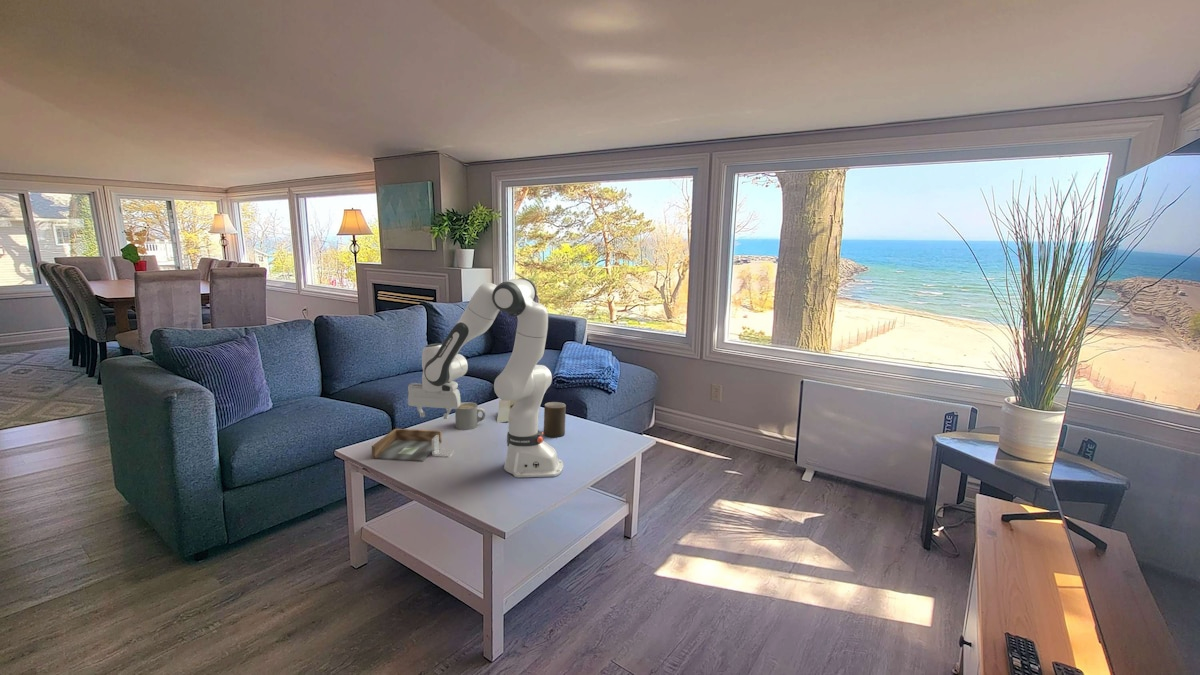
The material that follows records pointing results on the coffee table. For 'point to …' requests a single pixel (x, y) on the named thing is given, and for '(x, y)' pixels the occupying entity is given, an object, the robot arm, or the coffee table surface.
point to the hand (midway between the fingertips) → (434, 417)
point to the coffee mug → (468, 416)
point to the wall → (504, 410)
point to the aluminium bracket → (437, 451)
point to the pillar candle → (554, 419)
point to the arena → (405, 445)
